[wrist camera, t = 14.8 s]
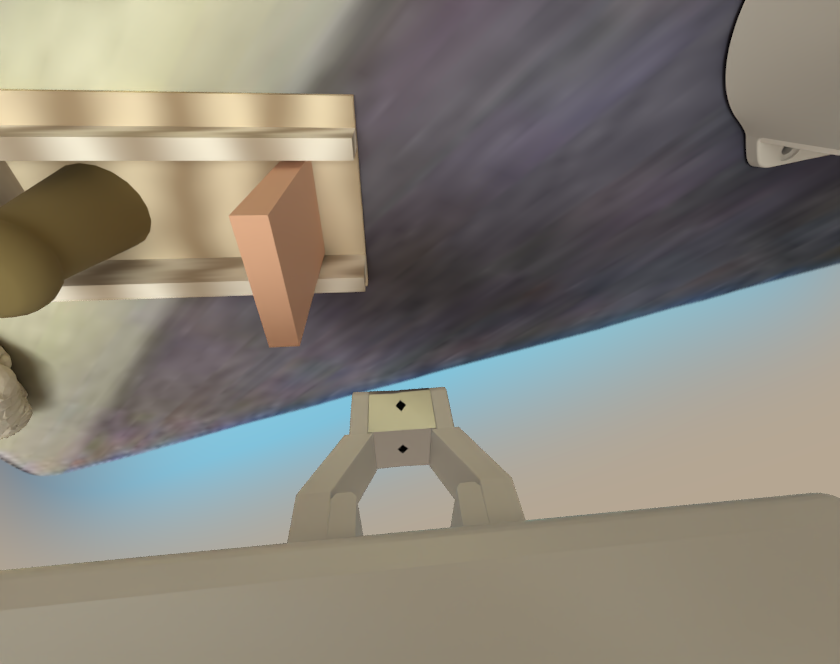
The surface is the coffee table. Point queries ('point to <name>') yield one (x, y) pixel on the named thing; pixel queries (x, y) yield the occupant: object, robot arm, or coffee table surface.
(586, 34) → the coffee table surface
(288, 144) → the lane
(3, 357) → the fossil replica
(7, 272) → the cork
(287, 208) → the block
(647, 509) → the robot arm
